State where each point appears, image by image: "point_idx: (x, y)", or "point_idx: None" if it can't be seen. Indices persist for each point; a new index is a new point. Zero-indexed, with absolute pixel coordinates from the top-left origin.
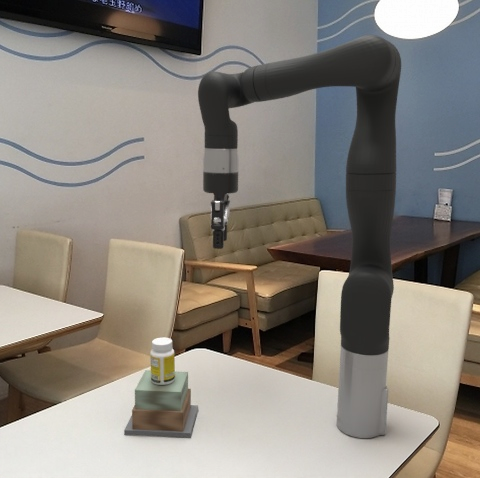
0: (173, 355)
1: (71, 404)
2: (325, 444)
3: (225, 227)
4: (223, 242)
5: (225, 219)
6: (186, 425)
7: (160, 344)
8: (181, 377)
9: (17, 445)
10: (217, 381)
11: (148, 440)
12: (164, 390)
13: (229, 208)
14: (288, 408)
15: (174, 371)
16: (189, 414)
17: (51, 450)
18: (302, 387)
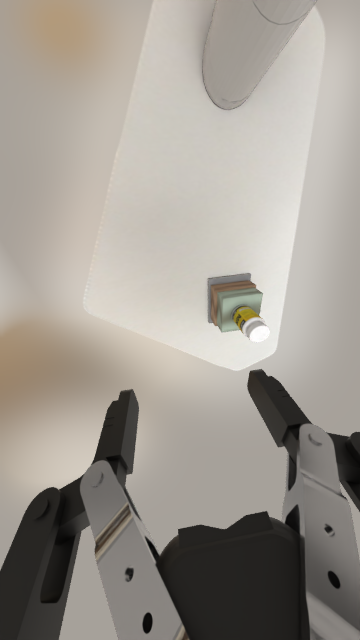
0: (256, 316)
1: (208, 357)
2: (265, 131)
3: (125, 443)
4: (267, 382)
5: (343, 496)
6: (240, 280)
7: (268, 332)
8: (235, 300)
9: (252, 359)
10: (152, 274)
11: None
12: (259, 306)
13: (186, 637)
14: (195, 184)
15: (246, 308)
16: (223, 282)
17: (258, 344)
18: (140, 165)
